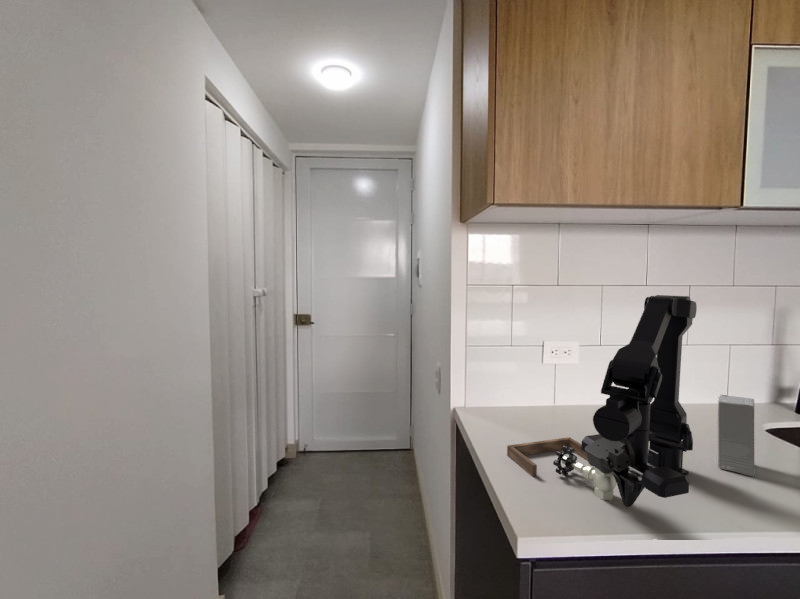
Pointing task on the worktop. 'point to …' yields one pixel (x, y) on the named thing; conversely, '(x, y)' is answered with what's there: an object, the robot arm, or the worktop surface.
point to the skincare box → (736, 434)
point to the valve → (586, 473)
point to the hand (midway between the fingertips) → (627, 506)
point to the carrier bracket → (540, 451)
